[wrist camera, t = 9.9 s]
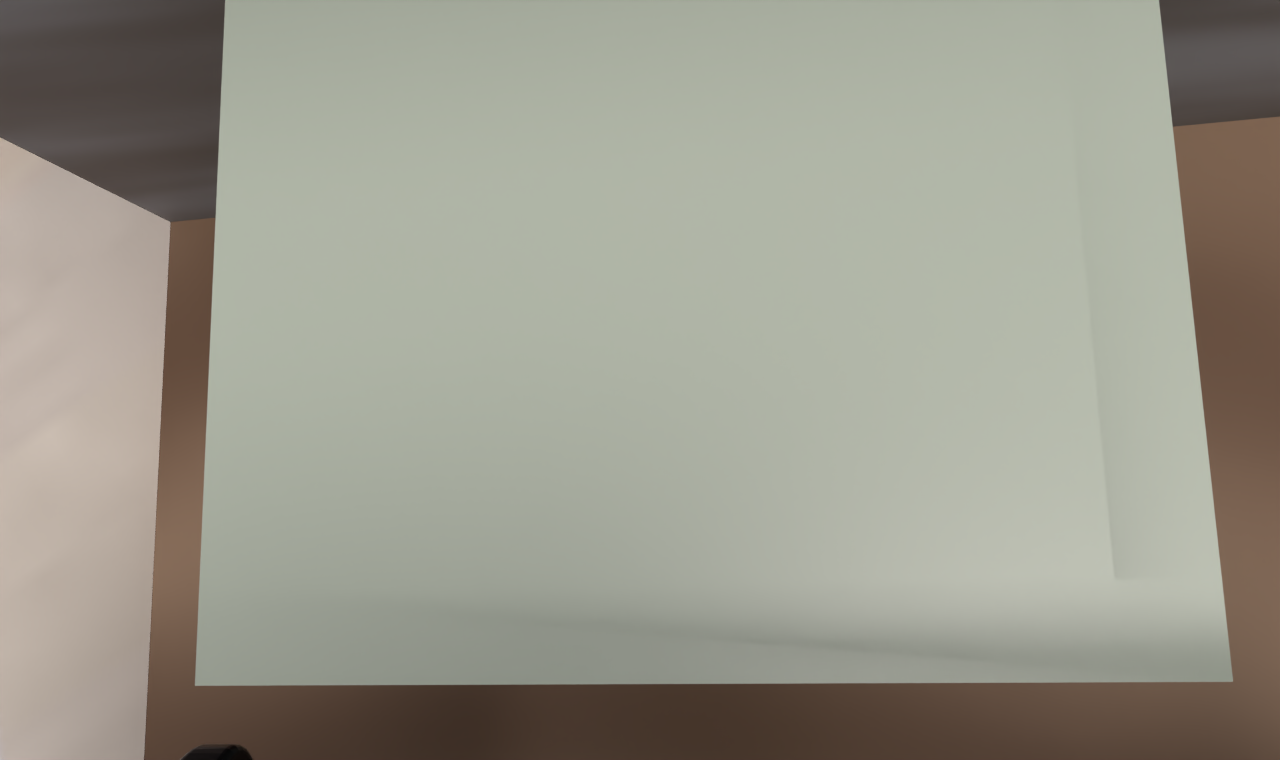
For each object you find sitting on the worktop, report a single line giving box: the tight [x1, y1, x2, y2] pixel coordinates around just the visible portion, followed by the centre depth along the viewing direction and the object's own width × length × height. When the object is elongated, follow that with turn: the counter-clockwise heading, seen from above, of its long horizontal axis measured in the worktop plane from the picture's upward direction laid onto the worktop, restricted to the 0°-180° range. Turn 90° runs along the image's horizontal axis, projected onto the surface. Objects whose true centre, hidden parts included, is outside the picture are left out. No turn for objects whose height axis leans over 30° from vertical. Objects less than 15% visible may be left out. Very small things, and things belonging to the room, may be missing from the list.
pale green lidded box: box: [195, 0, 1233, 686], centre depth 11 cm, size 6×6×10 cm
